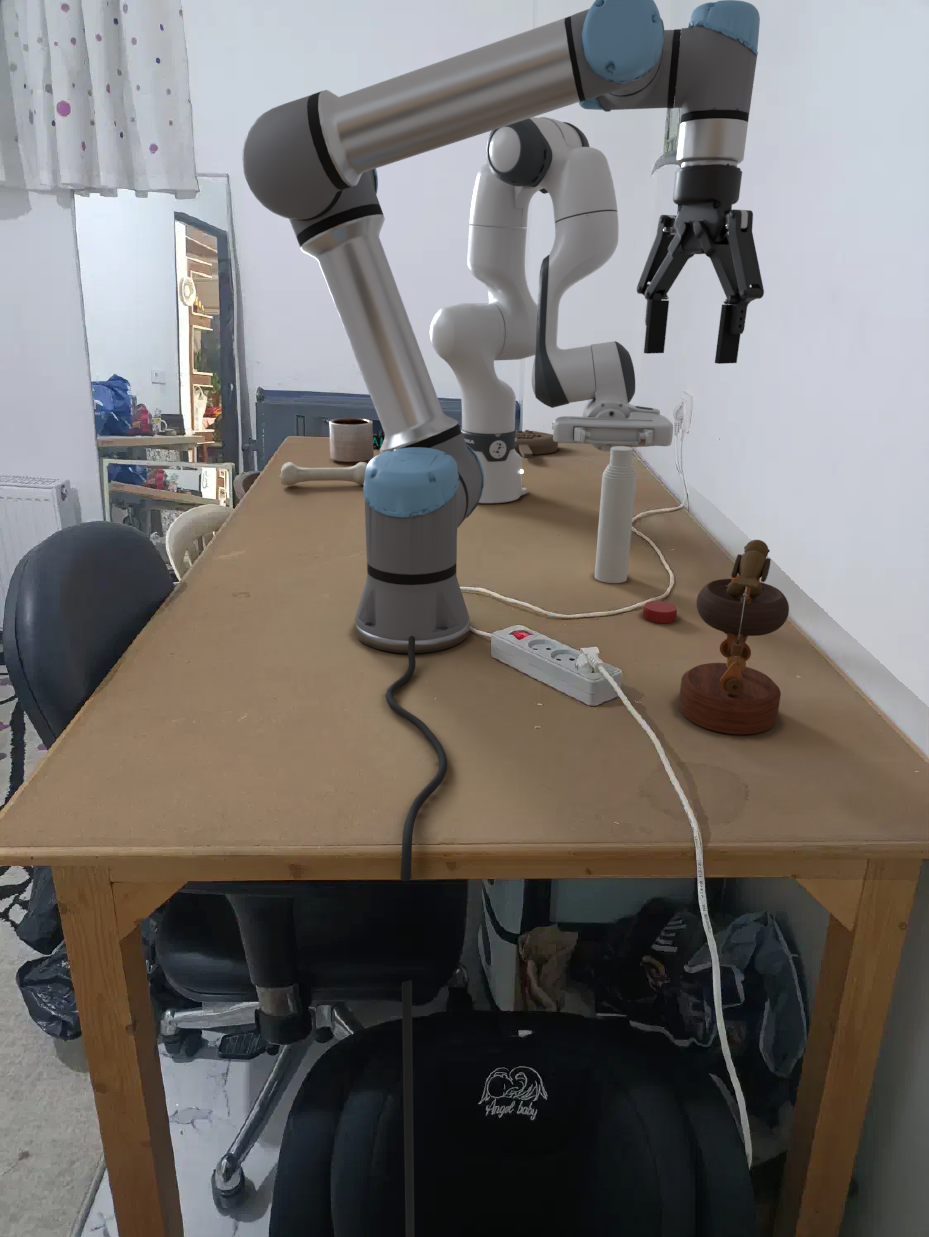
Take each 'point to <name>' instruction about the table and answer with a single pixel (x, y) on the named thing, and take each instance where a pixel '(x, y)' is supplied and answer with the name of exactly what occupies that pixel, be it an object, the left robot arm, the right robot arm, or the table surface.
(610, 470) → the bottle
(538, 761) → the table surface
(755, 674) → the brown tiered ornament
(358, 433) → the planter
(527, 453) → the ice cream bar
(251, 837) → the table surface
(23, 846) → the table surface
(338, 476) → the dog toy
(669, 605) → the cap
